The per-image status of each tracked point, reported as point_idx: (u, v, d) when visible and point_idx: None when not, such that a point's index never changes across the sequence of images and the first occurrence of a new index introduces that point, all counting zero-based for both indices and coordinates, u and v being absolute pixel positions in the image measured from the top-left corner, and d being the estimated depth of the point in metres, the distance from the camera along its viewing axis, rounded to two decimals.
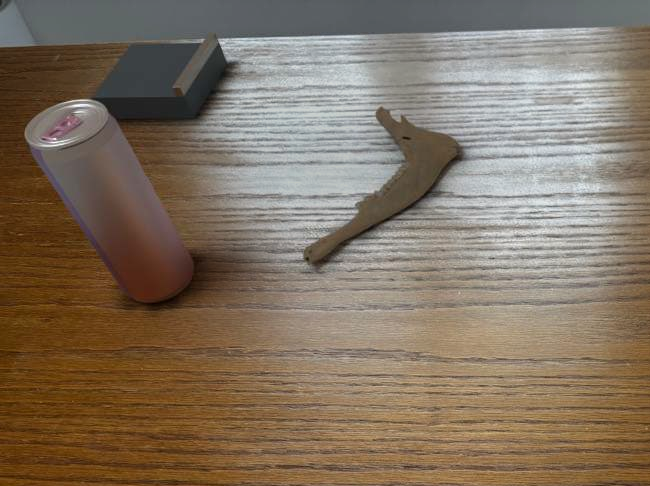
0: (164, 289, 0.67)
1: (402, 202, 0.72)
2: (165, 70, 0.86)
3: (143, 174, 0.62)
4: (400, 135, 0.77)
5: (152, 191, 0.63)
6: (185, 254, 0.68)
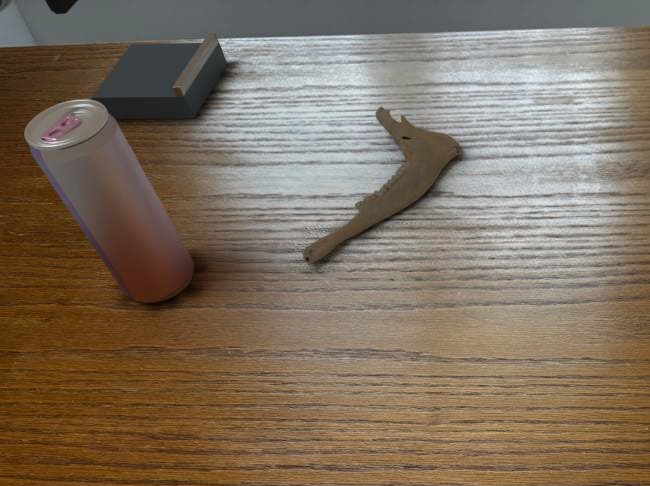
0: (164, 289, 0.67)
1: (401, 202, 0.72)
2: (165, 70, 0.86)
3: (143, 174, 0.62)
4: (400, 135, 0.77)
5: (152, 191, 0.63)
6: (185, 254, 0.68)
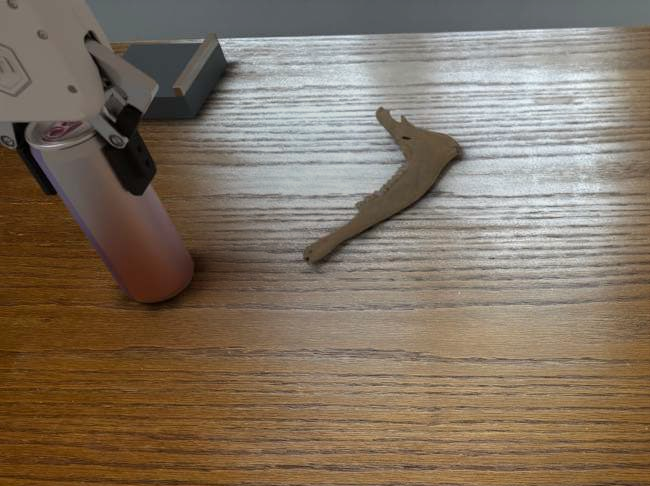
0: (164, 289, 0.67)
1: (401, 202, 0.72)
2: (165, 70, 0.86)
3: None
4: (400, 135, 0.77)
5: (152, 191, 0.63)
6: (185, 254, 0.68)
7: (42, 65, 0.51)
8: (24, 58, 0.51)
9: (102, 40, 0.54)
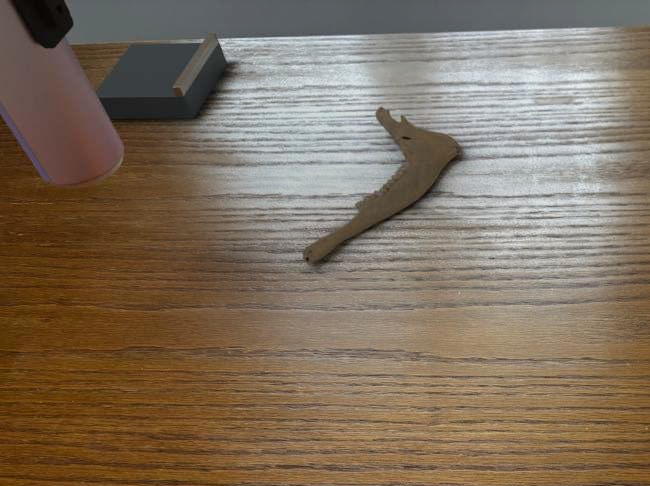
0: (87, 171, 0.58)
1: (401, 202, 0.72)
2: (165, 70, 0.86)
3: None
4: (400, 135, 0.77)
5: (69, 50, 0.55)
6: (113, 133, 0.59)
7: None
8: None
9: None
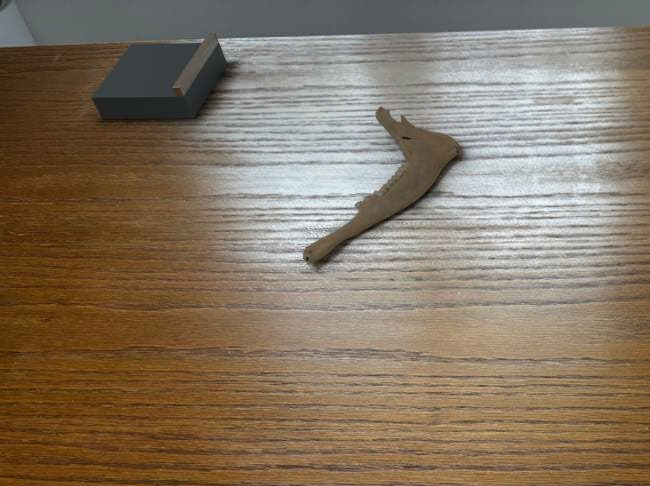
0: None
1: (401, 202, 0.72)
2: (165, 70, 0.86)
3: None
4: (400, 135, 0.77)
5: None
6: None
7: None
8: None
9: None
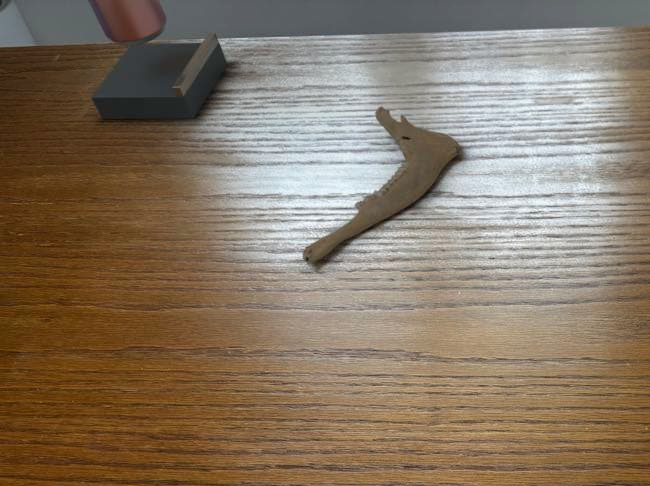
0: (141, 31, 0.80)
1: (401, 202, 0.72)
2: (165, 70, 0.86)
3: None
4: (400, 135, 0.77)
5: None
6: (159, 4, 0.81)
7: None
8: None
9: None
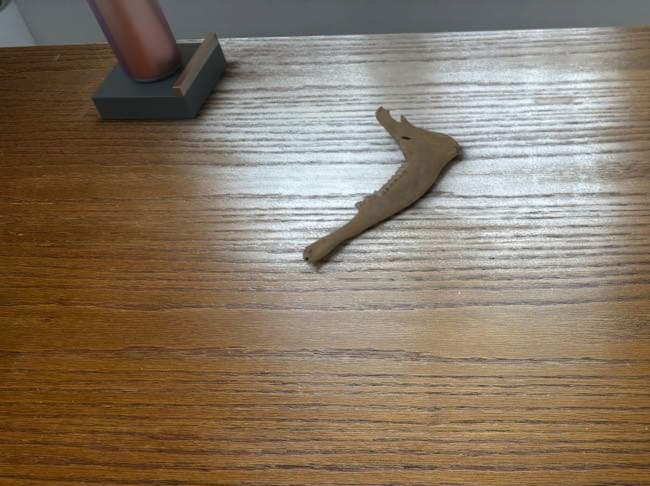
0: (157, 68, 0.83)
1: (401, 202, 0.72)
2: None
3: None
4: (400, 135, 0.77)
5: None
6: (175, 43, 0.84)
7: None
8: None
9: None
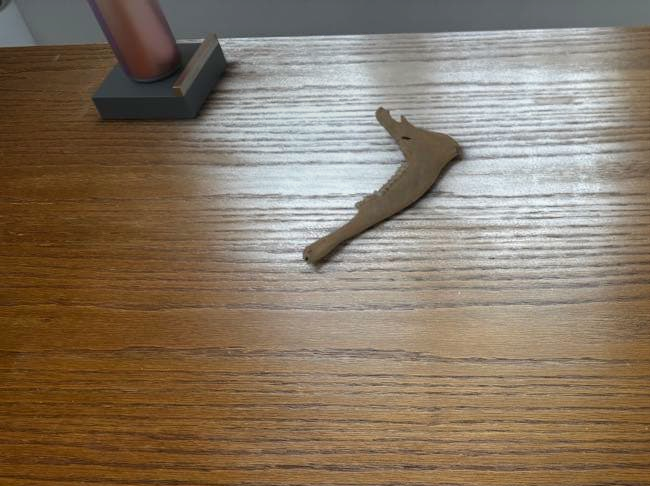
0: (157, 68, 0.83)
1: (401, 202, 0.72)
2: None
3: None
4: (400, 135, 0.77)
5: None
6: (175, 43, 0.84)
7: None
8: None
9: None
